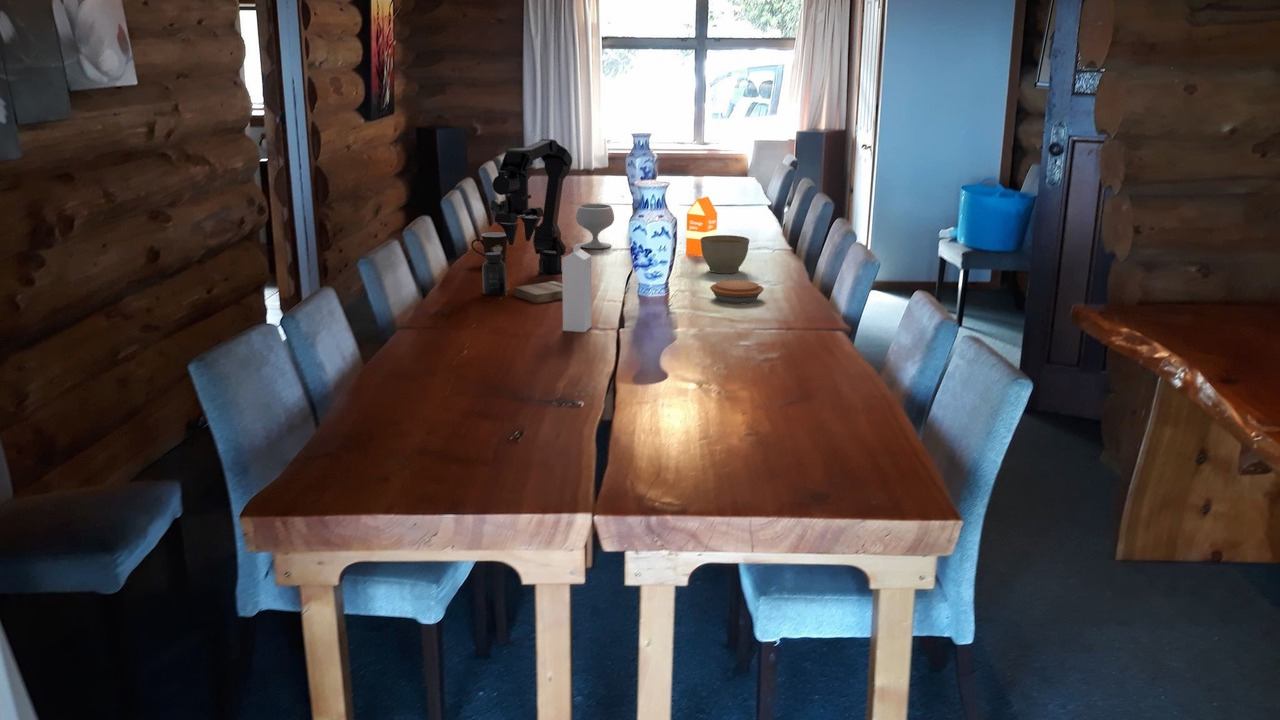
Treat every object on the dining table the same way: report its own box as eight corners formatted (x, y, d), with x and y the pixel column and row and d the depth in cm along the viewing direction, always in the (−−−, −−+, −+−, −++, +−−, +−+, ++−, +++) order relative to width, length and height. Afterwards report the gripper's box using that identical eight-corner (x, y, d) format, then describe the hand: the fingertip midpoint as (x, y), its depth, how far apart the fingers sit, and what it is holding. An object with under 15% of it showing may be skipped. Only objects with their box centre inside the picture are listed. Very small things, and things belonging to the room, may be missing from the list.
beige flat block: (553, 289, 309) (553, 280, 308) (576, 296, 300) (576, 287, 299) (514, 295, 301) (513, 286, 300) (536, 303, 292) (536, 293, 291)
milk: (562, 331, 263) (561, 246, 257) (570, 325, 269) (568, 242, 262) (585, 332, 262) (584, 247, 255) (592, 326, 267) (591, 243, 261)
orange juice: (716, 252, 370) (718, 197, 364) (704, 256, 363) (706, 200, 357) (697, 250, 374) (698, 195, 368) (685, 254, 367) (686, 198, 361)
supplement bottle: (510, 292, 305) (509, 252, 302) (498, 296, 299) (497, 256, 296) (491, 289, 308) (490, 250, 304) (478, 294, 302) (477, 254, 298)
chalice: (592, 241, 388) (592, 202, 384) (621, 246, 381) (621, 205, 376) (568, 247, 377) (568, 206, 373) (598, 251, 370) (598, 210, 365)
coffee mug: (510, 261, 349) (510, 232, 346) (505, 266, 341) (504, 237, 338) (477, 260, 350) (476, 231, 347) (471, 265, 342) (470, 236, 339)
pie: (699, 299, 299) (699, 282, 298) (731, 291, 310) (732, 275, 309) (741, 308, 289) (741, 291, 288) (773, 299, 300) (774, 283, 298)
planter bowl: (748, 267, 345) (749, 235, 342) (748, 277, 330) (749, 243, 327) (700, 265, 347) (701, 233, 344) (698, 275, 331) (699, 242, 328)
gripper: (513, 186, 319) (514, 236, 323) (478, 192, 303) (479, 245, 307) (543, 189, 314) (544, 239, 319) (509, 195, 298) (511, 248, 303)
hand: (519, 243), depth 312 cm, fingers open, 9 cm apart
